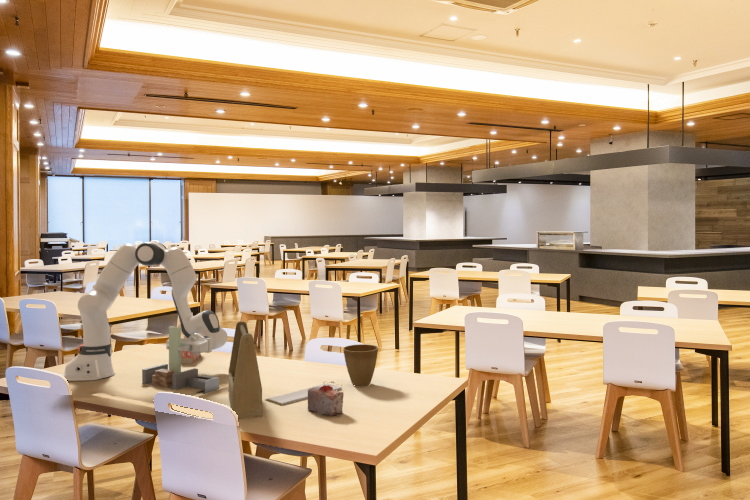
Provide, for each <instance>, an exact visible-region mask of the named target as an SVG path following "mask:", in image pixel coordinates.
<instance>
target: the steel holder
mask: <svg viewBox="0 0 750 500" xmlns="http://www.w3.org/2000/svg"><path fill="white" fill-rule="evenodd" d="M186 388H190V389H196V390H199V391H196V393H199V394H202V395H203V394H204V395H206V394H209V393H212V392H215V391H218V390H220V377H219V376H213V375H209V374H208V375H207V374H198V376H195V377H191V378H188V379H187V387H186Z"/></svg>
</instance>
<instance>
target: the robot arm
mask: <svg viewBox="0 0 750 500" xmlns="http://www.w3.org/2000/svg"><path fill="white" fill-rule="evenodd" d="M138 265H142V266H145V267H156V266H160V265H161V266H163V268H164V269H165V270H166V272H167V273H166V274H167V275H168V277H169V279H170V282H171V283H170V284H171V297H172V300H173V304H174V306H175V309H176V313H177V315H178V319H179V322H180V323H179V324H180V327H181V334H183V337H181V346H180V347H178V351H189V352H192V353H195V354H197V353H201V354H203V353H204V354H206V353H207V354H208V353H212V352H213V350H216V349H217V350H218V349H220V348H221V347H223V346H224V345H226V343H227V341H228V333H227V331H226V329H224V328H222V326H221V325H220V321H219V317H218V315H217V314H216V313H215V312H214V311H212V310H210V309H206V310H204V311H201V312H199V313H196V315H193V313H192V311H191V308H190V305H189V301H188V295H189V293H190V291H191V290H192V288H193V287H194V286H195V284H196V281H197V274H196V272H195V268H194V267H193V265H192V263H191V261H190V259H189V258H188V256H187V255H186V253H185V252H184V251H183V249H182V248H180V247H171V248H168V249H167V247H166V246H165V245H164V244H162V243H160V242H157V241H145V242H142V243H140V244H139V245H138V246H136V245H134V244H131V243H126V244H123V245H121V246H120V247H119V248H118V249H117V250H116V252H115V253H113V255H112V256H111V258H110V259H109V260H108V262H107V263H106V265H105V266H104V267H103V269H102V271H101V272H100V273H99V276H98V278H97V280H96V282H95V284H94V285H93V287H92V289H91V290H89V291H87V292H85V293H84V294H82V295H81V296H80V298H79V299H78V301H77V309H78V311H79V314H80V320H81V324H82V335H83V336H82V337H83V340H82V341H83V343H82V344H80V345H79V347H78V350H77V351H78V354H77V355H76V356H75V357H73V358H72V359H71V360H69V362H67V363H66V365H65V368H64V373H62V374H61V375H63V376H64V377H65V378H66V379H67V380H68V381H67V382H74V381H75V382H76V381H77V382H78V381H79V382H80V381H98V380H101V379H104V378H108V377H109V378H110V377H112V376H114V375H115V370H114V368H113V362H112V353H113V350H112V343H111V326H110V323H109V318H108V313H107V311H108V310H110V309H111V307H112V305H113V304H114V303H115V300H116V299H117V297H118V295H119V294H120V292H121V290H122V288H123V287H124V285H125V283H126V282H127V281H128V280H129V278H130V277H131V274H132V273H133V272H134V271H135V269H136V268H137V266H138ZM184 336H186V337H187V338H188V339H184ZM165 342H166V347H165V348H166V350H169V339H167V340H166V341H165Z"/></svg>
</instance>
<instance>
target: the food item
mask: <svg viewBox="0 0 750 500" xmlns="http://www.w3.org/2000/svg"><path fill="white" fill-rule="evenodd" d="M312 387H313V388H311V387H309V388H310V389H309V390H308V399H307V410H308V411H310V412H315V413H317V414H318V415H326V416H330V415H331V417H333V415H334V416H337V415H336V414H338V415H340V413H341V414H342V413H343V405H344V391H340V390H338V391H335V390H333V387H330V385H329V386H328V385H327V386H325V385H324V386H322V387H315V386H312Z"/></svg>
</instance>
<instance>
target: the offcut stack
mask: <svg viewBox="0 0 750 500" xmlns="http://www.w3.org/2000/svg"><path fill="white" fill-rule="evenodd" d="M172 374H174V371H173V370H169V369H168V370H166V369H160V370H156V371H155V375H152V385H151V386H153V385H155V387H159V386H161V387H160V388H164V387H166V389H169V388H168V387H171V386H173V381H172Z"/></svg>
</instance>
